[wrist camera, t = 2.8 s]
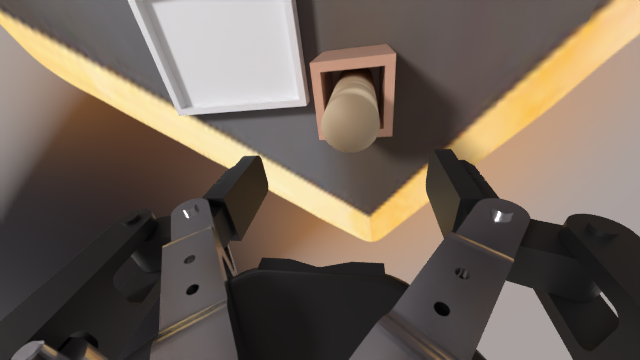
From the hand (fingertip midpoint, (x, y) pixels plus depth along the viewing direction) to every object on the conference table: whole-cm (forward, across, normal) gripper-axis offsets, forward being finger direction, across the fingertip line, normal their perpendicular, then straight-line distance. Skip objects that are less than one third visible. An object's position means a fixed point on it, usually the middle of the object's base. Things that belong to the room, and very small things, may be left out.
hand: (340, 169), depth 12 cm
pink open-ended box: (+21, 0, 0) cm, 21 cm away
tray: (+21, +15, -5) cm, 26 cm away
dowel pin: (+20, 0, 0) cm, 20 cm away
